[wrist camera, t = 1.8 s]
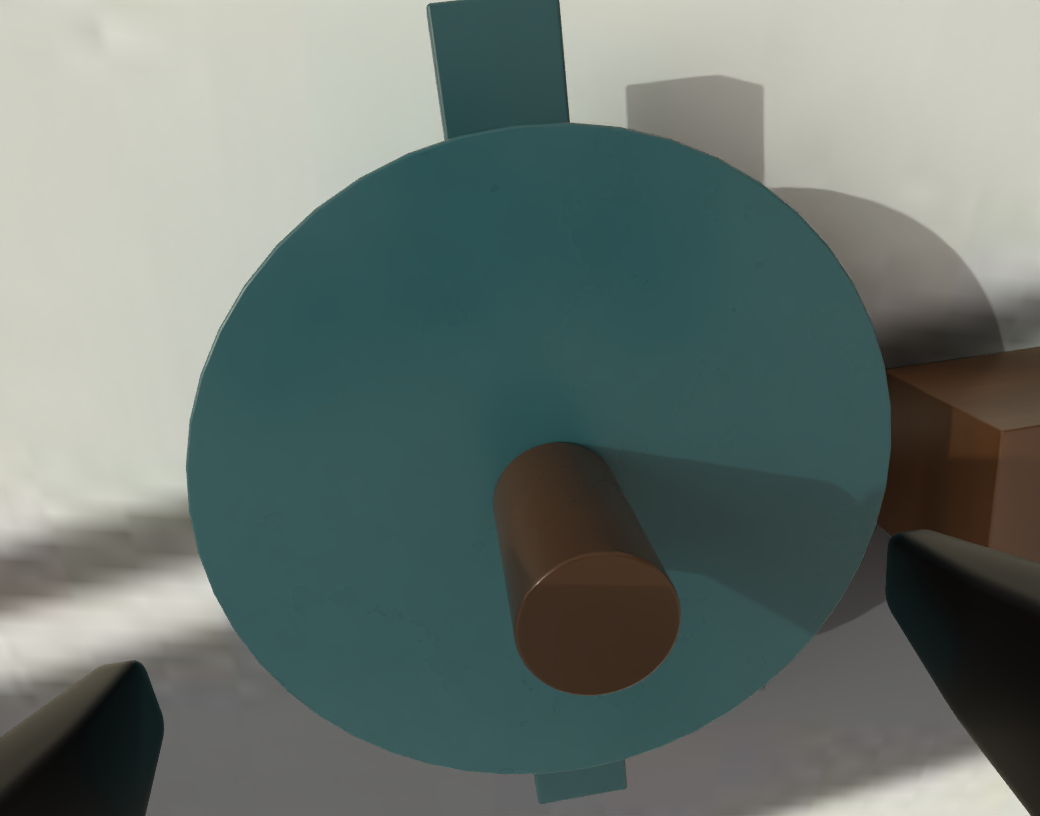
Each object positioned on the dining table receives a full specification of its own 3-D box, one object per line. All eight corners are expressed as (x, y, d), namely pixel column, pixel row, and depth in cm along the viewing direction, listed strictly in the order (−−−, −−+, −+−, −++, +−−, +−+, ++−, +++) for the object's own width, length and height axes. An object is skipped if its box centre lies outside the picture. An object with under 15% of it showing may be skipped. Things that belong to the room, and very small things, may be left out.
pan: (755, 0, 18) (878, -54, 13) (759, 644, 25) (843, 774, 20) (186, 64, 17) (85, 34, 12) (346, 715, 24) (322, 868, 19)
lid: (881, 80, 15) (1126, 47, 9) (852, 687, 20) (1002, 882, 14) (109, 175, 14) (-87, 195, 8) (287, 786, 19) (232, 1032, 14)
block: (1042, 345, 22) (1205, 400, 18) (1023, 496, 24) (1166, 582, 19) (880, 369, 22) (1001, 431, 17) (872, 520, 24) (981, 614, 19)
